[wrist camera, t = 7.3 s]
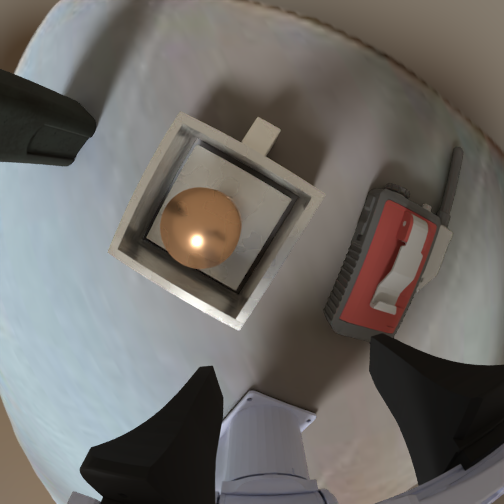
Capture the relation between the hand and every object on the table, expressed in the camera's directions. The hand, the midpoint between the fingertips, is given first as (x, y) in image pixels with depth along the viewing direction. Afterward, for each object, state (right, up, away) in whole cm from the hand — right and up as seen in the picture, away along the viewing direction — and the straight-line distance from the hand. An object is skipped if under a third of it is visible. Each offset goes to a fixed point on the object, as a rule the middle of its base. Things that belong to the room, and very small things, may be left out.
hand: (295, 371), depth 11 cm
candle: (-18, +16, +8) cm, 25 cm away
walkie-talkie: (+11, +7, +10) cm, 16 cm away
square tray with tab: (-4, +8, +9) cm, 13 cm away
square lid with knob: (-4, +8, +9) cm, 13 cm away
